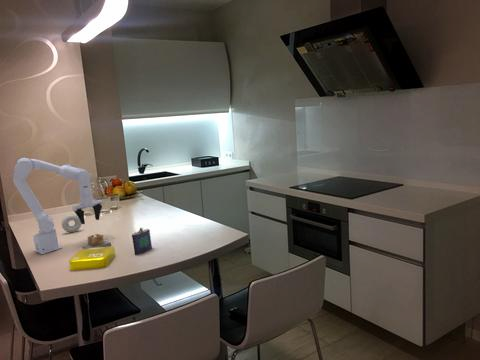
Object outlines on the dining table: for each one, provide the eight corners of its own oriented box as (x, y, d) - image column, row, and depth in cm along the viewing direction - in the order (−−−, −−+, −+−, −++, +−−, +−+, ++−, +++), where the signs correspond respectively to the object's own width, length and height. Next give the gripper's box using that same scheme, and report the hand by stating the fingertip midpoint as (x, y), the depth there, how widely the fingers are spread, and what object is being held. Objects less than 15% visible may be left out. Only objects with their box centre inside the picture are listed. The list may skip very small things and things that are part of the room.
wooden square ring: (94, 246, 185) (92, 238, 184) (88, 245, 188) (87, 236, 188) (104, 243, 189) (102, 235, 188) (98, 241, 192) (97, 233, 191)
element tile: (116, 255, 178) (115, 244, 177) (106, 268, 163) (104, 257, 162) (82, 258, 178) (80, 247, 177) (68, 272, 163) (66, 260, 162)
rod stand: (91, 252, 183) (89, 239, 182) (82, 249, 188) (80, 237, 187) (111, 245, 190) (109, 233, 189) (101, 242, 195) (100, 231, 194)
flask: (149, 247, 183) (146, 224, 181) (153, 248, 181) (151, 225, 179) (133, 254, 176) (129, 230, 174) (137, 255, 174) (134, 231, 172)
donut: (63, 235, 214) (60, 216, 212) (62, 233, 216) (59, 215, 215) (83, 230, 219) (80, 212, 217) (82, 229, 221) (79, 211, 220)
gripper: (76, 198, 188) (80, 227, 191) (104, 192, 199) (108, 218, 201) (68, 197, 193) (73, 225, 195) (96, 191, 204) (100, 217, 206)
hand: (90, 221), depth 199 cm, fingers open, 7 cm apart
